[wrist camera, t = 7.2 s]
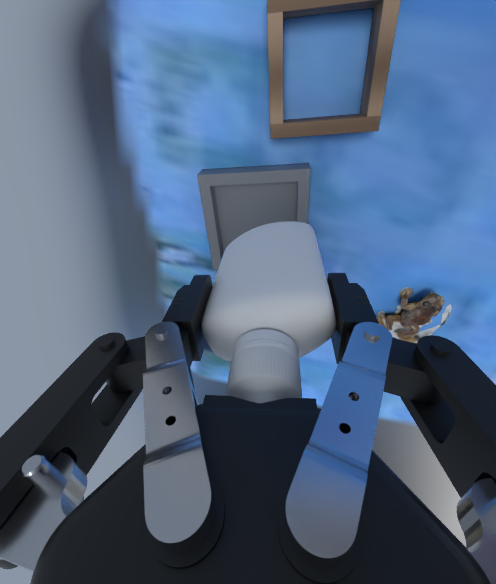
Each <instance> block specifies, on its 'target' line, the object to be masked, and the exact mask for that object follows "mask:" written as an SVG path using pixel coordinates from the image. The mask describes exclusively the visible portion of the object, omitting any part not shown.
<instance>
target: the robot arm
mask: <svg viewBox="0 0 496 584" xmlns="http://www.w3.org/2000/svg"><path fill="white" fill-rule="evenodd" d="M327 282H328V286H329V290H330V294H331V298H332V303H333V307H334V311H335V317H336V329H335V332H334V334H333V335H332V336H331V339H332V343H333V348H334V353H335V357H336V362H337V364H338V366H337V369H336V371H335V374H334V377H333V379H332V382H331V385H330V387H329V390H328V393H327V395H326V398H325V401H324V403H323V406H322V409H319V408H317V405H316V399H309V398H284V399H279V400H274V401H269V402H265V403H255V402H251V401H247V400H244V399H240V398H237V397H233V396H216V395H215V396H214V395H205V398H204V402H203V404H200V405H199V403H198V399H197V395H196V390H195V386H194V381H193V377H192V372H191V369H190V366H191V363H192V361H200V360H201V357H202V353H203V350H204V346H205V343H206V339H205V337H204V335H203V332H202V325H201V324H202V318H203V314H204V311H205V308H206V305H207V302H208V299H209V296H210V293H211V289H212V281H211V277H210V275H195V276H194V277H193V279H192V281H191V283H190V285H184V286H183V287H182V288H181V289H179V290H178V291H177V293H176V295H175V297H174V299H173V301H172V303H171V305H170V307H169V309H168V311H167V313H166V315H165V317H164V319H163V321H162V322H160V323H158V324H155V325H153V326H152V327H151V328H149V329H148V331H147V332H146V334H145V336H144V337H141V338H136V339H132V340H128V341H126V339H125V337H124V336H123V335H122V334H120V333H108V334H106V335H103V336H101V337H99V338H97V339H96V340H95V341H94V342H93V343H92V344H91V345H90V346H89V347H88V348H87V349H86V350H85V351H84V352H83V353H82V354H81V355H80V356H79V357H78V358H77V359H76V360H75V361H74V362H73V363H72V364H71V365H70V366H69V368H67V369H66V370H65V371H64V373H63V374H62V375H61V376H60V377H59V378H58V379H57V380H56V381H55V382H54V383H53V384H52V385H51V386H50V387H49V388H48V389H47V390H46V391H45V392H44V394H42V395H41V396H40V397H39V399H38V400H37V401H35V402H34V404H33V405H32V406H31V407H30V408H29V409H28V410H27V411H26V412H25V413H24V414H23V415H22V416H21V417H20V418H19V419H18V420H17V421H16V422H15V423H14V424H13V425H12V426H11V427H10V428H9V430H7V431H6V432H5V433H4V435H3V436H2V437H1V438H0V567H1V568H4V569H12V568H15V567H17V566H20V567H22V568H24V569H26V570H29V571H31V572H33V576H32V580H31V584H496V385H495V384H494V383H493V382H492V381H491V380H490V379H489V378H488V377H487V376H486V375H485V374H484V372H483V371H482V370H481V369H480V368H479V367H478V366H477V365H476V364H475V363H474V362H473V361H472V360H471V359H470V358H469V357H468V356H467V355H466V354H465V353H464V352H463V351H462V350H461V349H460V347H458V346H457V345H456V344H455V343H454V342H452V341H450V340H448V339H446V338H443V337H439V336H433V335H429V336H424V337H421V338H420V339H419V340H418V342H417V343H412V342H408V341H403V340H400V339H397V338H394V337H392V334H391V332H390V331H389V330H388V329H387V328H386V327H384V326H382V325H380V324H379V322H378V320H377V318H376V316H375V313H374V311H373V309H372V306H371V304H370V302H369V300H368V298H367V295H366V293H365V290H364V289H363V288H362V287H361V286H359V285H358V284H357V283H349V282H348V279H347V276H346V274H345V273H329V274H328V278H327ZM105 382H107V385H106V386H105V388H104V389H103V390H102V392H101V393H100V394H99V395H98V397H97V398H96V399H95V400H94V402H93V403H92V399H93V397H94V396H95V394H96V393H97V392H98V390H99V389H100V388H101V387H102V385H103V384H104V383H105ZM142 389H143V393H144V417H145V440H146V444H145V445H144V446H143V447H142V448H141V449H140V450H139V451H137V452H136V453H135V454H134V455H133V456H132V457H131V458H130V459H129V460H127V461H126V462H125V463H124V464H123V465H122V466H121V467H120V468H119V469H118V470H117V471H115V472H114V473H113V474H112V475H111V476H110V477H109V478H108V479H107V480H106V481H105V482H103V483H102V484H101V485H100V486H99V487H98V488H97V489H96V490H95V491H93V493H91V495H89V496H88V497H87V498H86V499H85V500H84V496H83V495H84V493H85V490H86V487H87V476H86V475H87V473H88V472H89V471H90V469H91V468H92V466H93V465H94V463H95V462H96V460H97V459H98V457H99V455H100V454H101V452H102V451H103V449H104V448H105V446H106V445H107V443H108V442H109V440H110V439H111V437H112V435H113V434H114V432H115V431H116V429H117V428H118V426H119V425H120V423H121V422H122V420H123V419H124V417H125V415H126V414H127V412H128V411H129V409H130V408H131V406H132V405H133V403H134V402H135V400H136V398H137V397H138V396H139V394H140V392H141V391H142ZM383 391H384V392H388V393H391V394H394V395H398V396H400V397H401V399H402V401H403V402H404V404H405V406H406V407H407V409H408V411H409V412H410V414H411V416H412V417H413V419H414V421H415V422H416V424H417V426H418V427H419V429H420V431H421V432H422V434H423V436H424V437H425V439H426V440H427V442H428V444H429V445H430V447H431V449H432V451H433V452H434V454H435V455H436V457H437V459H438V461H439V462H440V464H441V465H442V467H443V469H444V470H445V472H446V474H447V476H448V477H449V479H450V481H451V482H452V484H453V486H454V487H455V489H456V491H457V492H458V494H459V496H460V497H461V499H460V500H459V502H458V505H457V517H458V520H459V523H460V525H461V528H462V530H463V532H464V535H465V539H466V547H465V546H464V545H463V544H462V543H461V542H460V541H459V540H458V539H457V538H456V537H455V536H454V535H453V534H452V533H451V531H450V530H449V529H448V528H447V527H446V526H445V525H444V524H443V523H442V522H441V521H440V520H439V519H438V518H437V517H436V516H435V515H434V514H433V513H432V512H431V511H430V510H429V509H428V508H427V506H426V505H425V504H424V503H423V502H422V501H421V500H420V499H419V498H418V497H417V496H416V495H415V494H414V493H413V492H412V491H411V490H410V489H409V488H408V487H407V486H406V485H405V484H404V483H403V482H402V481H401V479H400V478H399V477H397V475H396V474H395V473H394V472H393V471H392V470H391V469H390V468H389V467H388V466H387V465H386V464H385V463H384V462H383V461H382V460H381V459H380V458H379V456H378V455H376V453H375V452H374V451H373V450H372V446H373V441H374V436H375V431H376V426H377V421H378V416H379V411H380V406H381V401H382V396H383ZM91 403H92V404H91Z"/></svg>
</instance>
